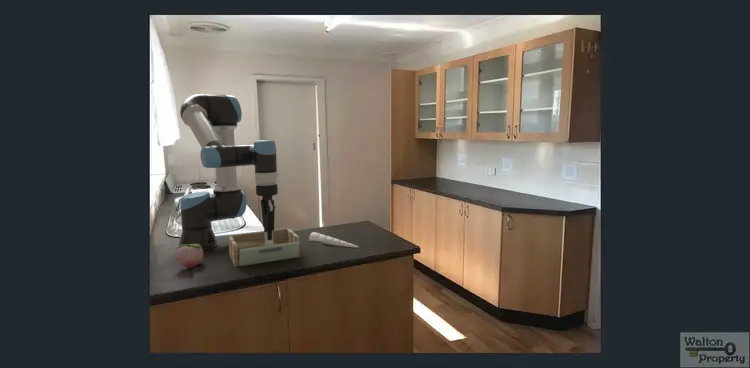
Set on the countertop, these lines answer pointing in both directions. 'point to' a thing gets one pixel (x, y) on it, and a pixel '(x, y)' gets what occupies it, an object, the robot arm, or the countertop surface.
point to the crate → (258, 241)
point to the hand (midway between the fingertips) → (269, 247)
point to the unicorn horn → (329, 240)
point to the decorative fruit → (189, 255)
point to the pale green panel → (268, 253)
